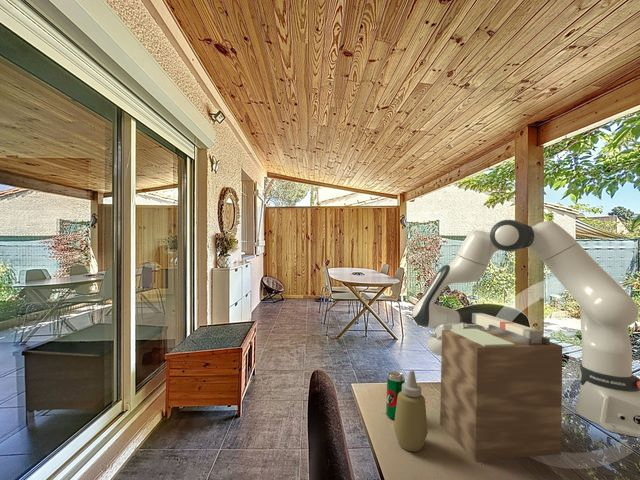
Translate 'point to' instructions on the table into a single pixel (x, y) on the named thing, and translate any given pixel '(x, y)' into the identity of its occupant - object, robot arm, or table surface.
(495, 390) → the cabinet
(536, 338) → the red-banded cream beam
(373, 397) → the table surface
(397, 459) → the table surface
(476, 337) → the plate
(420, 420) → the squeeze bottle
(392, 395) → the soda can
